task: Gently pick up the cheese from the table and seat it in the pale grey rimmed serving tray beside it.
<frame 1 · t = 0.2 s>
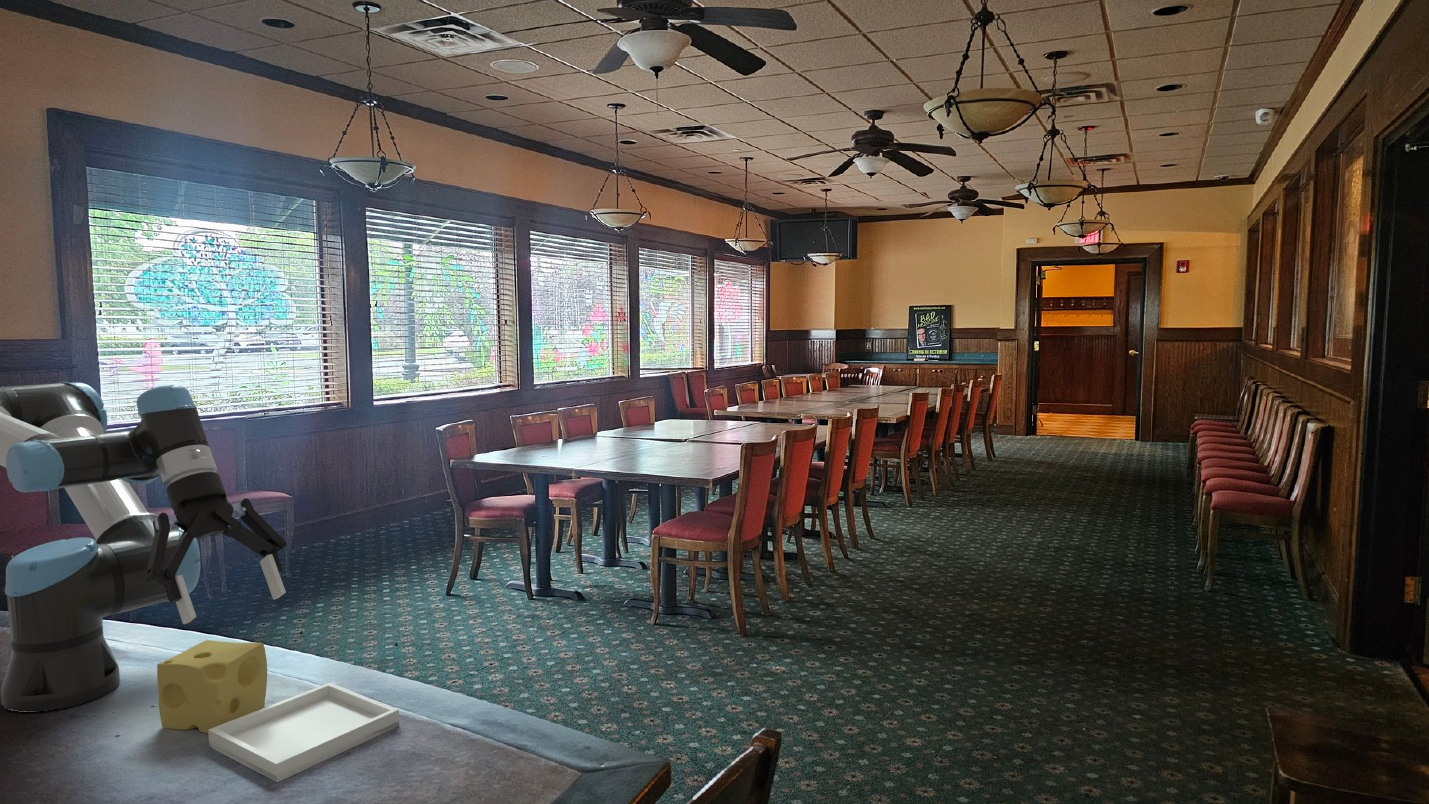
hand: (236, 608, 136), 16 cm above the table, tool tilted 30°, fingers open, 13 cm apart
serving tray: (306, 736, 128), on the table
cheese: (214, 718, 134), on the table
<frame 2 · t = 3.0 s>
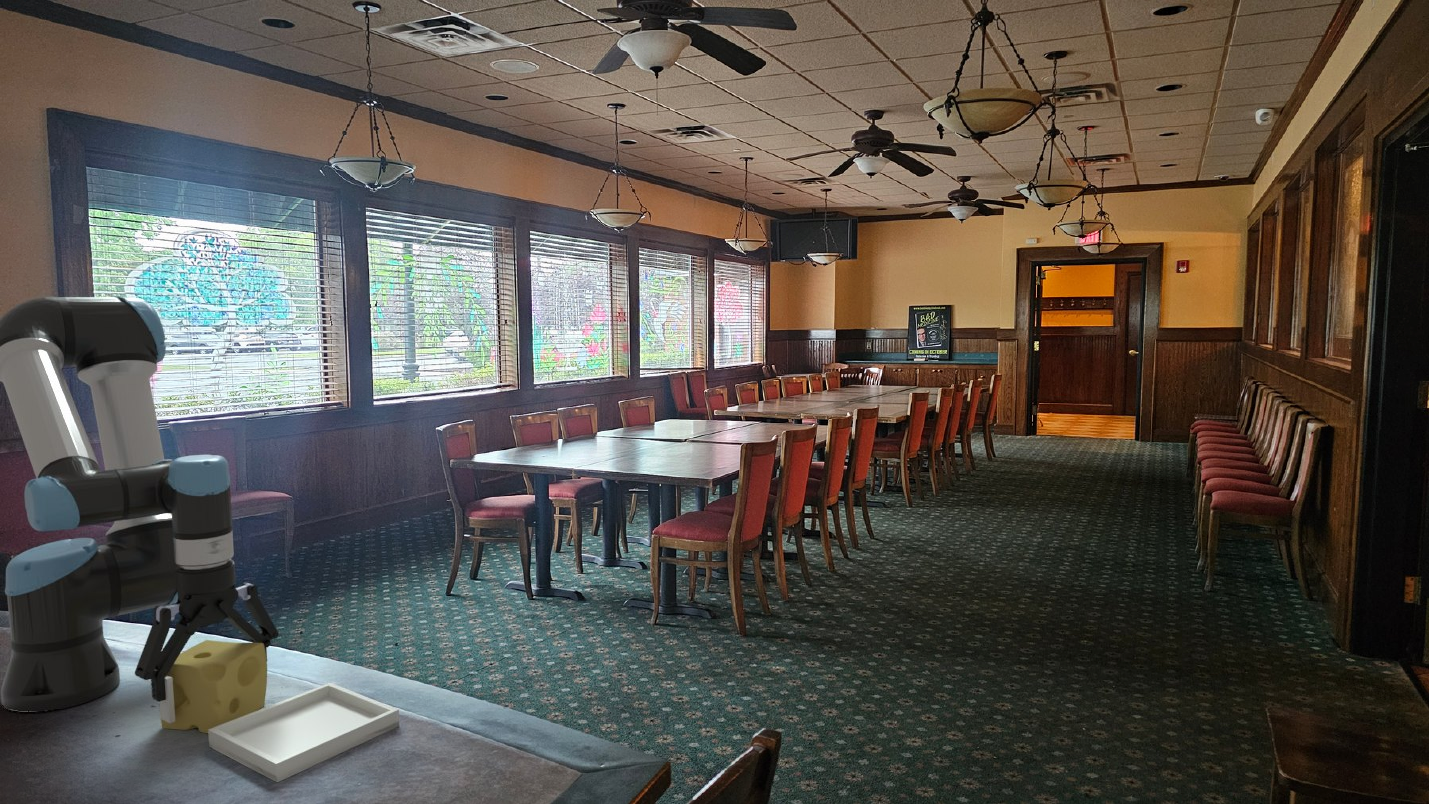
hand: (213, 703, 134), 2 cm above the table, tool pointing down, fingers closed on cheese, 12 cm apart
cheese: (214, 718, 134), on the table, touching gripper
when the fingers open (4 cm above the table, at t = 9.8 s): cheese drops 1 cm, resting on serving tray.
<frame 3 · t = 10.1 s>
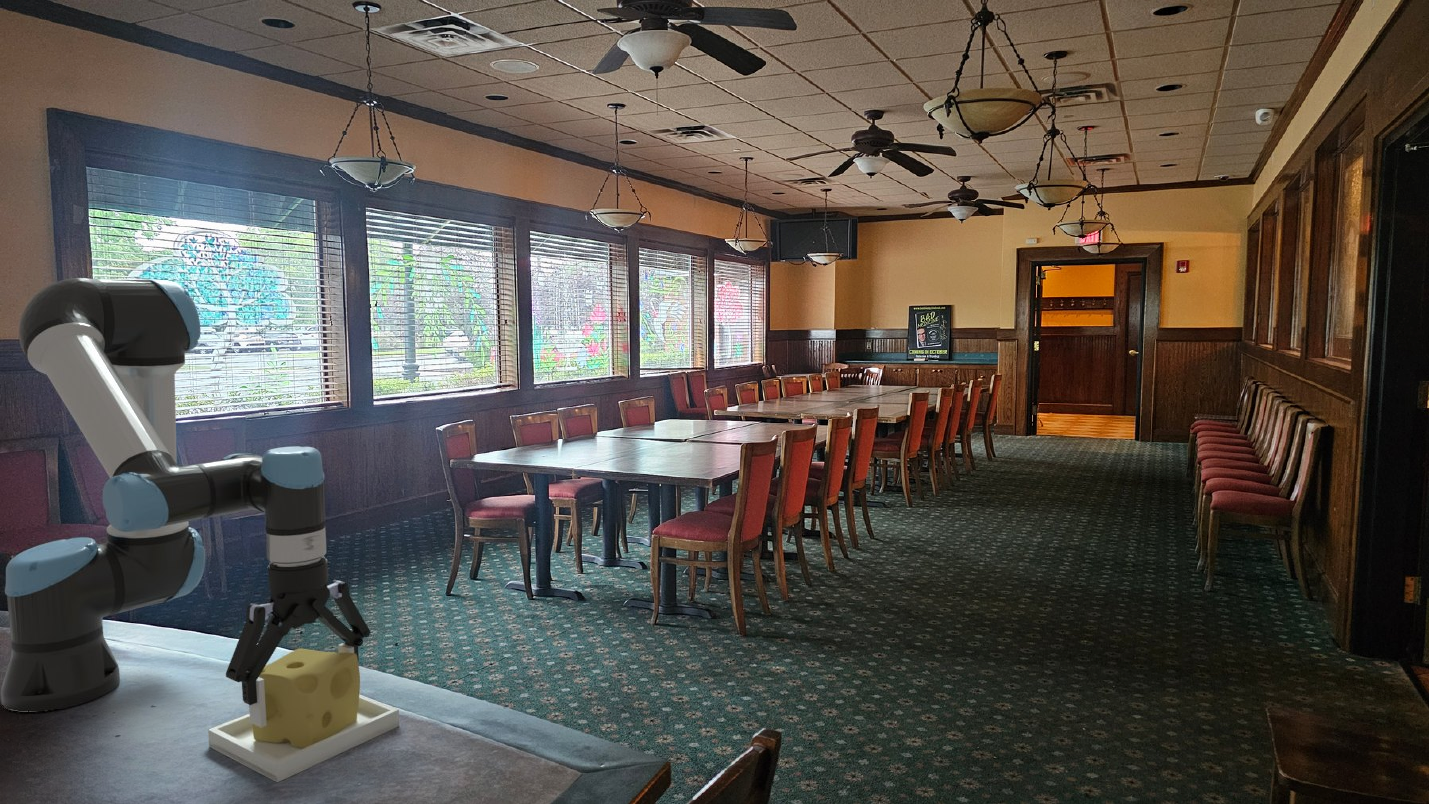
hand: (305, 705, 128), 5 cm above the table, tool pointing down, fingers open, 13 cm apart
cheese: (306, 730, 129), point 1 cm above the table, touching serving tray
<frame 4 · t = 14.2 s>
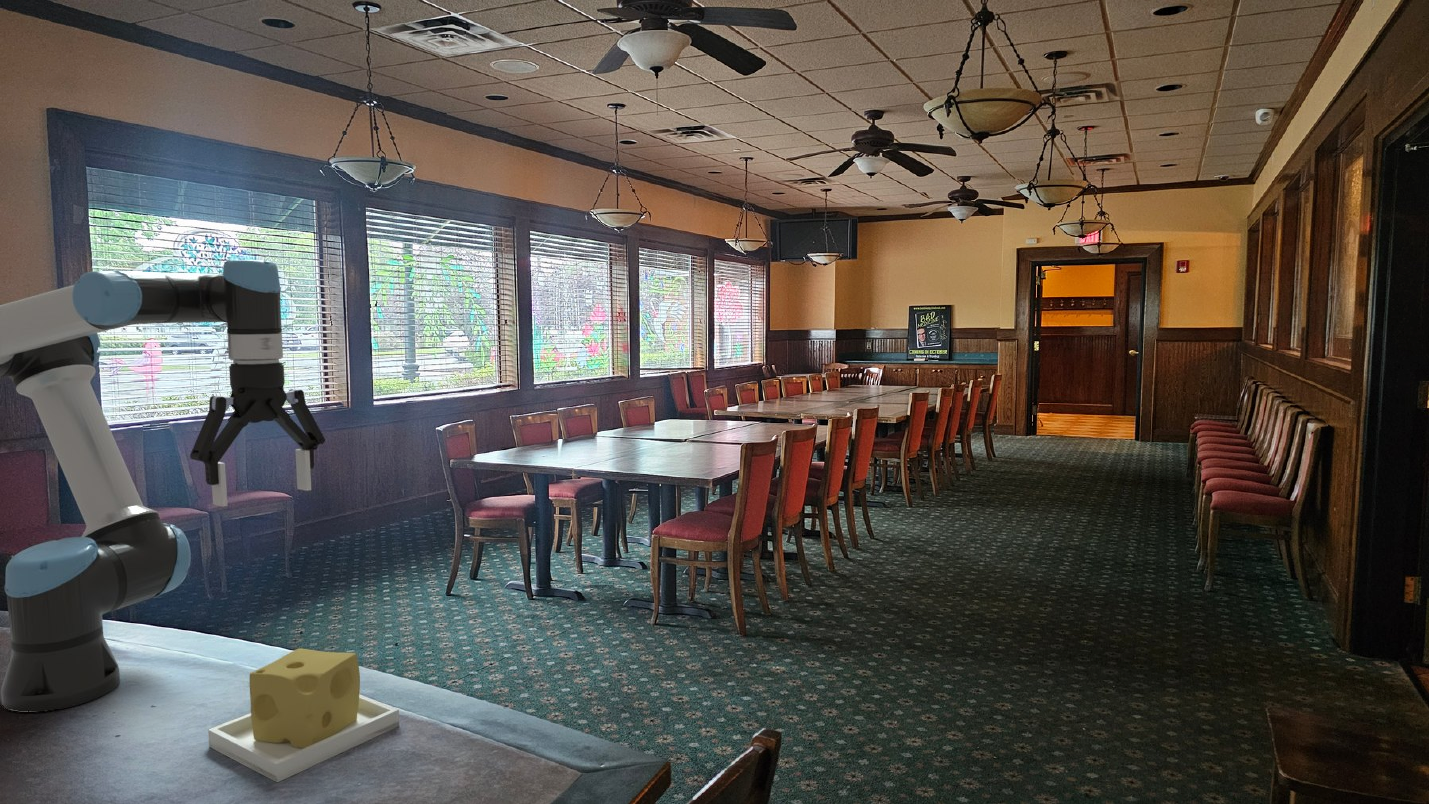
hand: (263, 497, 142), 31 cm above the table, tool pointing down, fingers open, 13 cm apart
nothing on the table moved.
at the end: cheese 0.4 cm off-centre on the serving tray, point 0.6 cm above the serving tray's base; cheese tilted 0°; the gripper is holding nothing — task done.
